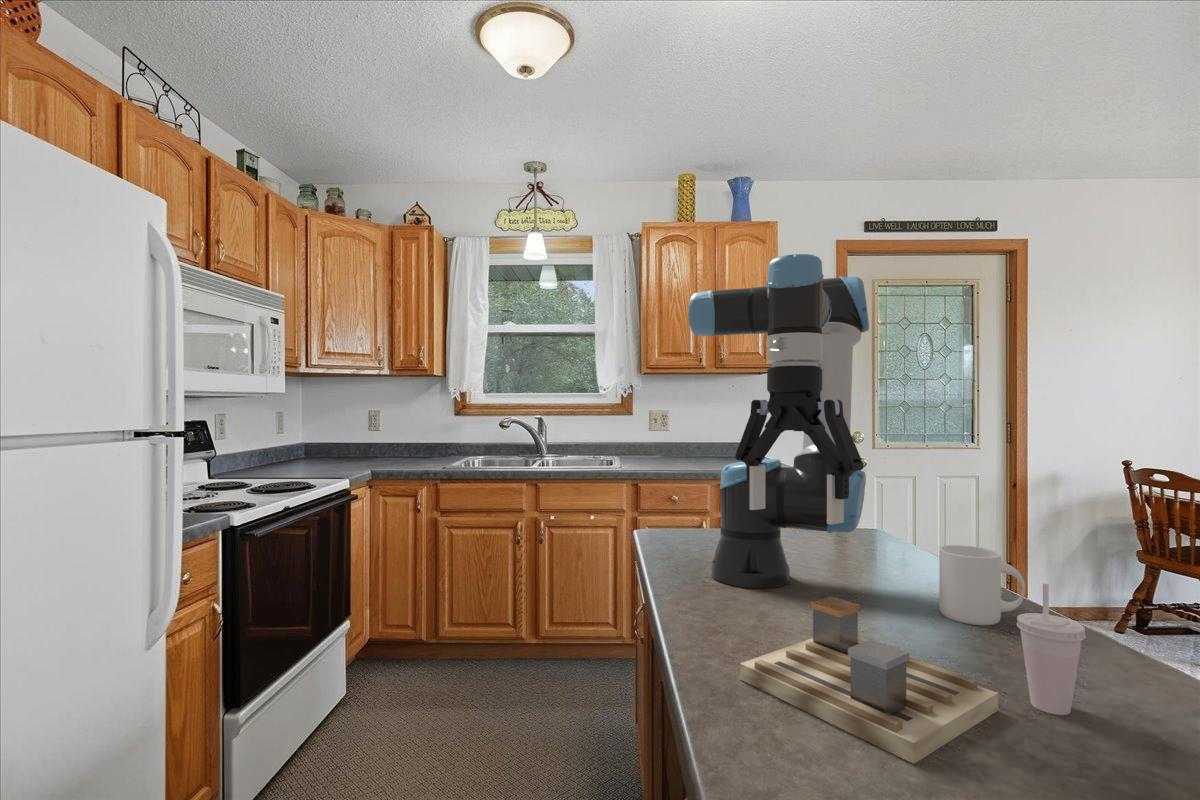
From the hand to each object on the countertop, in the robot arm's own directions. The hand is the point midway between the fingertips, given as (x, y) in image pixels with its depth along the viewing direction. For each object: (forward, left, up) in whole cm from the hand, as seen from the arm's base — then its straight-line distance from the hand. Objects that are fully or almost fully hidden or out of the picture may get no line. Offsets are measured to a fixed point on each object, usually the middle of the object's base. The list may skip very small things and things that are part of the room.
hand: (794, 515), depth 88 cm
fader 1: (+7, 0, -16) cm, 18 cm away
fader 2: (+19, -10, -16) cm, 27 cm away
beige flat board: (+14, -5, -19) cm, 24 cm away
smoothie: (+28, +10, -19) cm, 35 cm away
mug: (+10, +35, -19) cm, 41 cm away
